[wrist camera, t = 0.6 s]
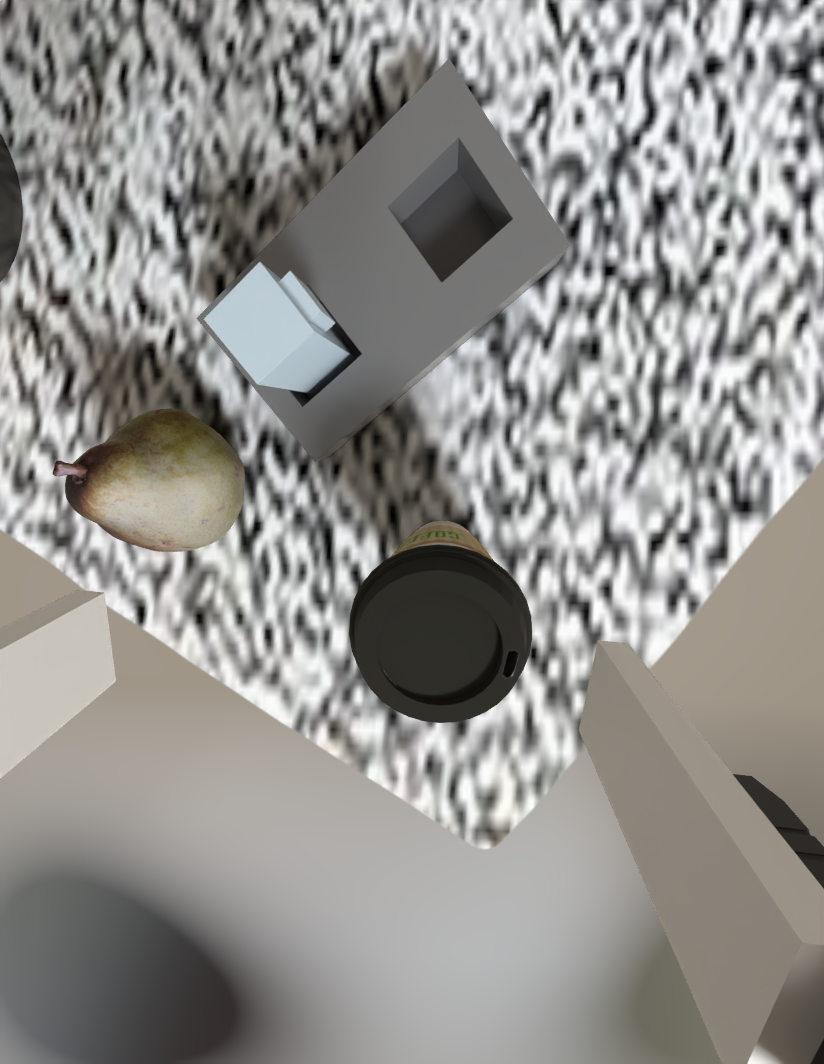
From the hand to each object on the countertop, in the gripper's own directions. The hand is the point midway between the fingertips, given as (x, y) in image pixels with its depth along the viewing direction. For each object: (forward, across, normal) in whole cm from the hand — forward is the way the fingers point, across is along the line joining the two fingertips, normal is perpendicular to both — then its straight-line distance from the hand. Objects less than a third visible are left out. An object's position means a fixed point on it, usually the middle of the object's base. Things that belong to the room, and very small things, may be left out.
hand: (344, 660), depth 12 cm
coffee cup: (+24, +3, -5) cm, 25 cm away
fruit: (+25, -16, 0) cm, 30 cm away
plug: (+24, -7, +10) cm, 27 cm away
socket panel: (+25, -3, +14) cm, 28 cm away
